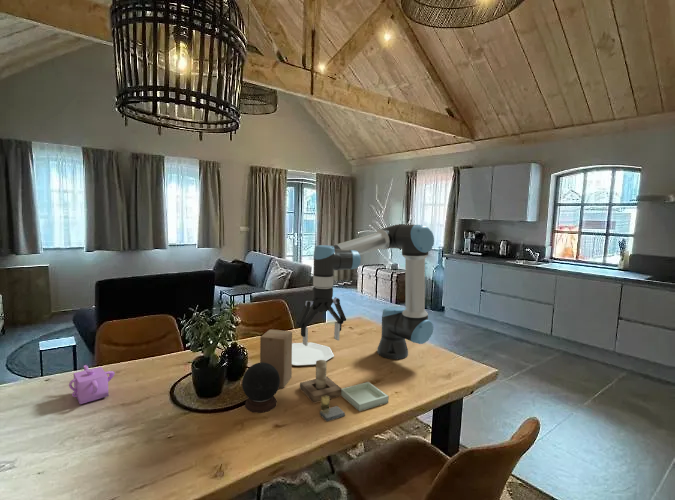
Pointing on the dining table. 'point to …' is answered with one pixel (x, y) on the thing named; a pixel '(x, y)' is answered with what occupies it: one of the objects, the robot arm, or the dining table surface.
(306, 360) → the plate
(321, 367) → the dowel
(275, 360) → the wooden block
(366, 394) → the tray
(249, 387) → the black ball on stand
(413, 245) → the robot arm
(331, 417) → the steel plate
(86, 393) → the teapot
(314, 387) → the socket block
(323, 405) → the cylinder
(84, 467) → the dining table surface
